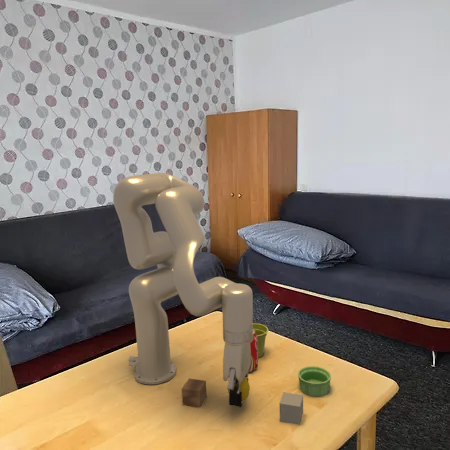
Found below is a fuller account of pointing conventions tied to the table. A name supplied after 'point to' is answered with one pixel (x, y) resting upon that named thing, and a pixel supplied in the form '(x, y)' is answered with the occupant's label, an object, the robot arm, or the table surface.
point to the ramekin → (314, 380)
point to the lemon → (244, 388)
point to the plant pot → (260, 337)
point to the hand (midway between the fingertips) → (239, 397)
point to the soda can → (254, 353)
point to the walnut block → (194, 393)
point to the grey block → (291, 408)
